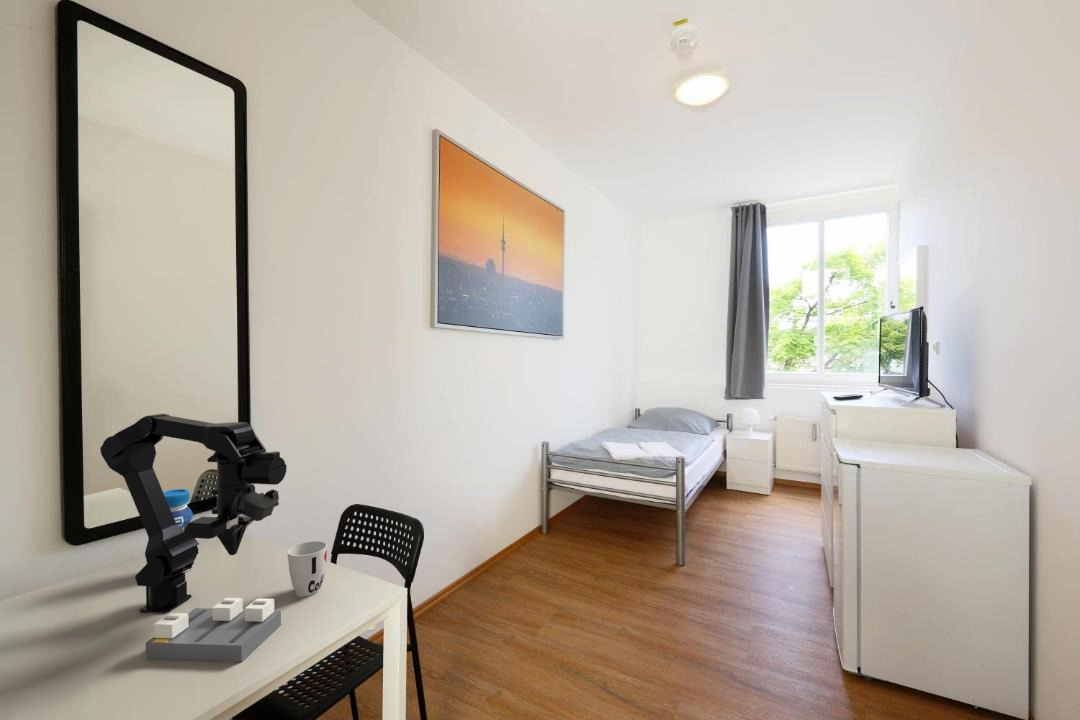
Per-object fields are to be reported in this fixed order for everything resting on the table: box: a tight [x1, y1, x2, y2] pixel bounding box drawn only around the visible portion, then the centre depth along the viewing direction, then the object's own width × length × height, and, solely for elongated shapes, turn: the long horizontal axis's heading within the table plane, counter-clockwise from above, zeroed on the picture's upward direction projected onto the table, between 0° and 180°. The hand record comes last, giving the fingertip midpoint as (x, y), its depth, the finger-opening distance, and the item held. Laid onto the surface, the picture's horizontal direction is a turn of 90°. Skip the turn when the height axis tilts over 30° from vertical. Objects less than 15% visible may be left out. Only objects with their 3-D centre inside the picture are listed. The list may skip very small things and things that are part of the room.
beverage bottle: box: [163, 488, 195, 573], centre depth 114 cm, size 8×8×20 cm
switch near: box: [153, 612, 189, 638], centre depth 83 cm, size 4×4×3 cm
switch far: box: [244, 598, 275, 622], centre depth 88 cm, size 4×4×3 cm
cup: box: [287, 540, 328, 598], centre depth 104 cm, size 8×8×10 cm
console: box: [145, 607, 282, 663], centre depth 86 cm, size 18×11×3 cm, turn 87°
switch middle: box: [212, 597, 244, 621], centre depth 89 cm, size 4×4×3 cm
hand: (233, 554), depth 97 cm, fingers closed
